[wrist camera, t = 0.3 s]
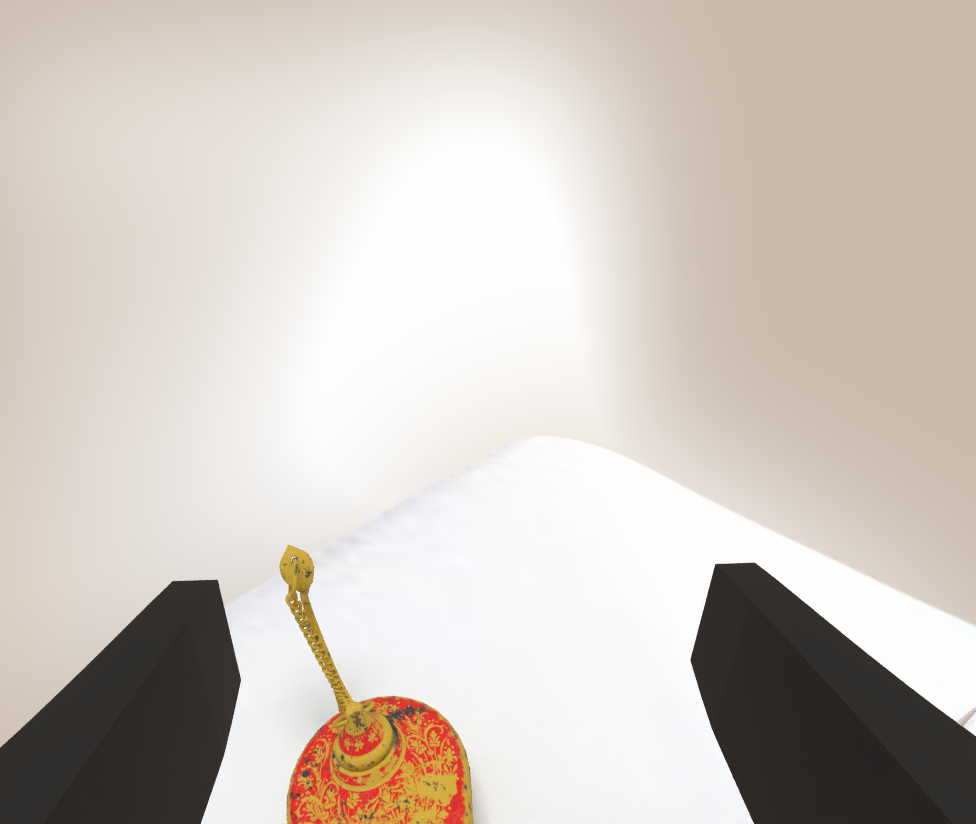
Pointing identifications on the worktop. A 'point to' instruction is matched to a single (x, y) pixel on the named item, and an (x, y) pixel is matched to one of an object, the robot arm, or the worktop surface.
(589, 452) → the worktop surface
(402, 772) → the magic lamp
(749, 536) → the worktop surface
